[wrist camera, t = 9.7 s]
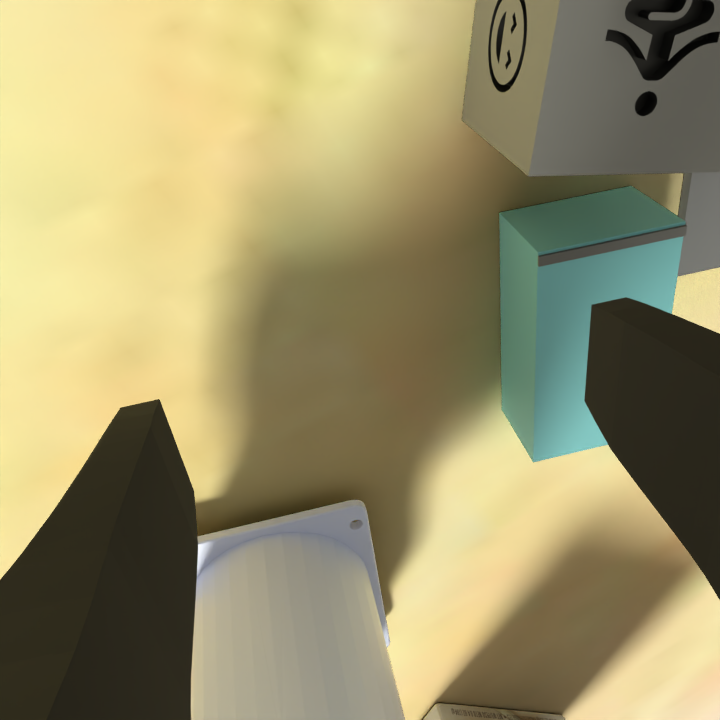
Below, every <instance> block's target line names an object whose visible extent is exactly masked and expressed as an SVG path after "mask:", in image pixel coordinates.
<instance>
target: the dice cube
mask: <svg viewBox="0 0 720 720" xmlns="http://www.w3.org/2000/svg"><path fill="white" fill-rule="evenodd" d="M462 121H463V122H464V123H465V124H467V125H468V126H469V127H470V128H471V129H473V130H474V131H475V132H476V133H477V134H478V135H480V136H481V137H482V138H483V139H484V140H486V141H487V142H488V143H489V144H490V145H492V146H493V147H494V148H495V149H496V150H497V151H499V152H500V153H501V154H502V155H503V156H505V157H506V158H507V159H508V160H509V161H511V162H512V163H513V164H514V165H515V166H517V167H518V168H519V169H520V170H521V171H522V172H524V173H525V174H526V175H527V176H571V175H617V174H662V173H707V172H720V0H476V3H475V12H474V20H473V29H472V37H471V45H470V54H469V62H468V70H467V79H466V87H465V96H464V104H463V112H462Z"/></svg>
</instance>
